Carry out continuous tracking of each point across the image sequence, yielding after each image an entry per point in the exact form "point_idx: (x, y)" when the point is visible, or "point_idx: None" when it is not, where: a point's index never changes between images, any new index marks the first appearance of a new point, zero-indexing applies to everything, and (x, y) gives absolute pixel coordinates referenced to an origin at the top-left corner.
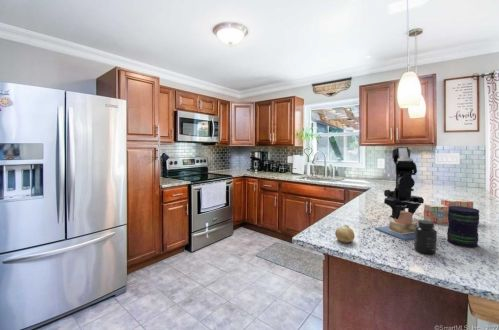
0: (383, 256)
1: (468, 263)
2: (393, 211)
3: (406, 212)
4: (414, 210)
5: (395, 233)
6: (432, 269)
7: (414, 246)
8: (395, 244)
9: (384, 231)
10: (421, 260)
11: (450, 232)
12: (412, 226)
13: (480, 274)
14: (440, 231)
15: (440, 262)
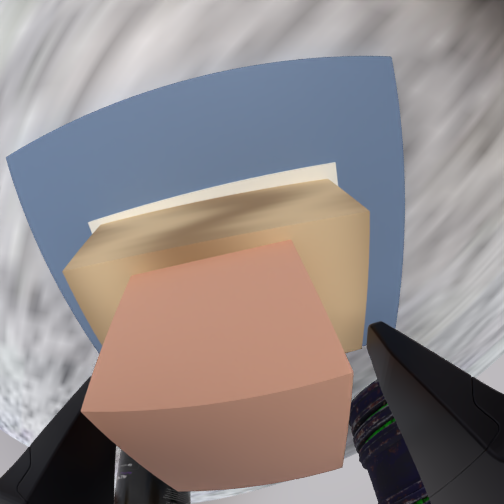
0: (20, 430)
1: None
2: (32, 460)
3: (282, 462)
4: (420, 462)
5: None
6: (116, 479)
7: (121, 451)
8: (67, 398)
9: (45, 260)
10: None
11: (365, 449)
12: None
13: (208, 494)
14: (494, 252)
15: None
